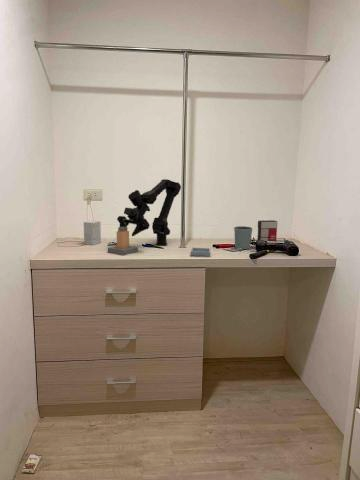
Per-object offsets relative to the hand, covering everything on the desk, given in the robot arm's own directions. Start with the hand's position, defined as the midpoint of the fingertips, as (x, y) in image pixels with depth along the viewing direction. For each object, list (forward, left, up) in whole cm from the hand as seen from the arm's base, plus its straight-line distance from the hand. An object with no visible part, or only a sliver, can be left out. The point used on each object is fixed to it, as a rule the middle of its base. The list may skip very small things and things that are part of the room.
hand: (125, 234), depth 196 cm
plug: (+2, -1, -9) cm, 9 cm away
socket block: (+2, -1, -10) cm, 10 cm away
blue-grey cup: (-25, +62, -10) cm, 68 cm away
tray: (-4, +39, -10) cm, 41 cm away
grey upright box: (-35, +77, -10) cm, 85 cm away
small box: (-22, -25, -10) cm, 35 cm away
